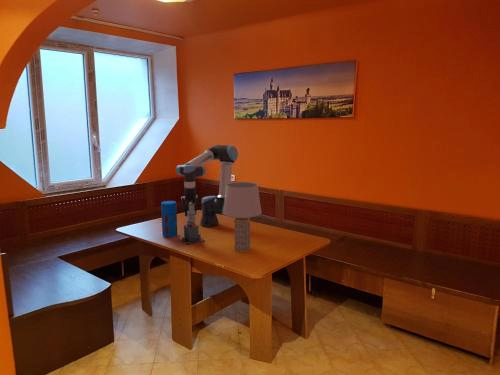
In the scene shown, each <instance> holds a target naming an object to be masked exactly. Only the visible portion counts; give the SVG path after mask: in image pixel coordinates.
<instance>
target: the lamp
mask: <svg viewBox="0 0 500 375" xmlns="http://www.w3.org/2000/svg"><path fill="white" fill-rule="evenodd" d="M258 185H259V184H257V183H255V182H251V181H250V182H249V181H248V182H247V181H238V182H237V181H236V182H231V183H229V184H227V185H226V193H225V200H224V208H223V214H222V215H224V216H226V217H229V218H235V219H234V220H233V221H234V222H233V223H234V252H242V253H244V252H245V253H248V252H249V250H250V248H251V218H254V217H255V218H256V217H258V216H260V215H262V213H263V212H262V206H261V200H260V192H259V191H260V190H259V187H258Z"/></svg>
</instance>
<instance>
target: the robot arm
mask: <svg viewBox="0 0 500 375" xmlns="http://www.w3.org/2000/svg"><path fill="white" fill-rule="evenodd" d="M238 158H239V152H238V149H237V147H236V146H234V145H226V144H225V145H223V144H216V145H213V146H211V147H209V148H206V150H204V151H203V153H201V154H199V155H198V156H196V157H195V158H192V159H191V160H190V161H188V162H186V163H185V164H178V165H177V166H176V167H175V173H176V174H177V176H181V177H182V176H183V186H184V195H183V196H181V197H180V199H181V210H182V212H184V216H185V220H186V222H187V221H189V212H188V204H189V202H192V203H195V205H194V211H195V216H197V211H198V210H199V209H200V195H198V194H196V178H201V177H204V176H205V175H206V174H207V168H206V167H205V166H203V165H205V164H207V163H209V162H212V161H215V160H216V161H218V160H219V163H220V164H221V165H220V166H221V167H220V175H219V176H220V177H219V178H220V179H219V188H218V189H219V190H218V195H217V196H216V195H208V196H203V197H202V198H201V218H200V222H199V225H200V227H206V228H213V227H217V226H219V225H220V221H219V218H218V215H217V214H219V215H223V208H224V200H225V193H226V185H227V184H229V183H232V173H233V172H232V171H233V165H234V164H235V161H237V160H238ZM185 203H186V204H185ZM196 220H197V219H196V218H195V221H196Z"/></svg>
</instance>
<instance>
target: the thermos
mask: <svg viewBox="0 0 500 375" xmlns="http://www.w3.org/2000/svg"><path fill="white" fill-rule="evenodd" d="M160 204H161V205H160V206H161V208H160V209H161V211H160V212H161V232H162V237H163V238H166V239H167V238H169V239H171V238H175V237H177V236H178V215H177V214H178V213H177V212H178V211H177V201H175V200H167V201H166V200H164V201H162V202H161V203H160Z"/></svg>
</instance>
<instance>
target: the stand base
mask: <svg viewBox="0 0 500 375" xmlns="http://www.w3.org/2000/svg"><path fill="white" fill-rule="evenodd" d="M177 239H178V241H180V243H183V244H184V245H186V246H188V245H189V246H190V245H194V244H199V243H203V242H205V241H206V240H205V239H204V238H203V237H202V236H201V233H199V225H198V224H196V223H195V224H191V227H188V226H187V224H183V236H182V237H179V238H177Z"/></svg>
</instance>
